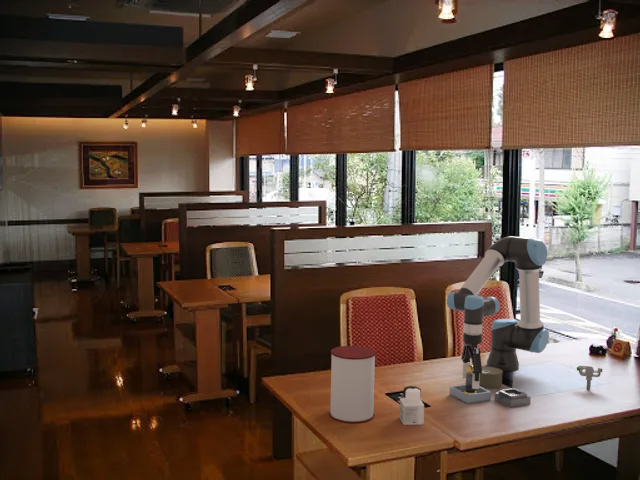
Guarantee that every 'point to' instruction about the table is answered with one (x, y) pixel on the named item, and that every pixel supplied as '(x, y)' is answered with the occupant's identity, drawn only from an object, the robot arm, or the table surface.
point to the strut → (469, 381)
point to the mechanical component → (588, 373)
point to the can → (490, 378)
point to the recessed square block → (512, 397)
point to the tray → (471, 398)
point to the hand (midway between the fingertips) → (470, 383)
